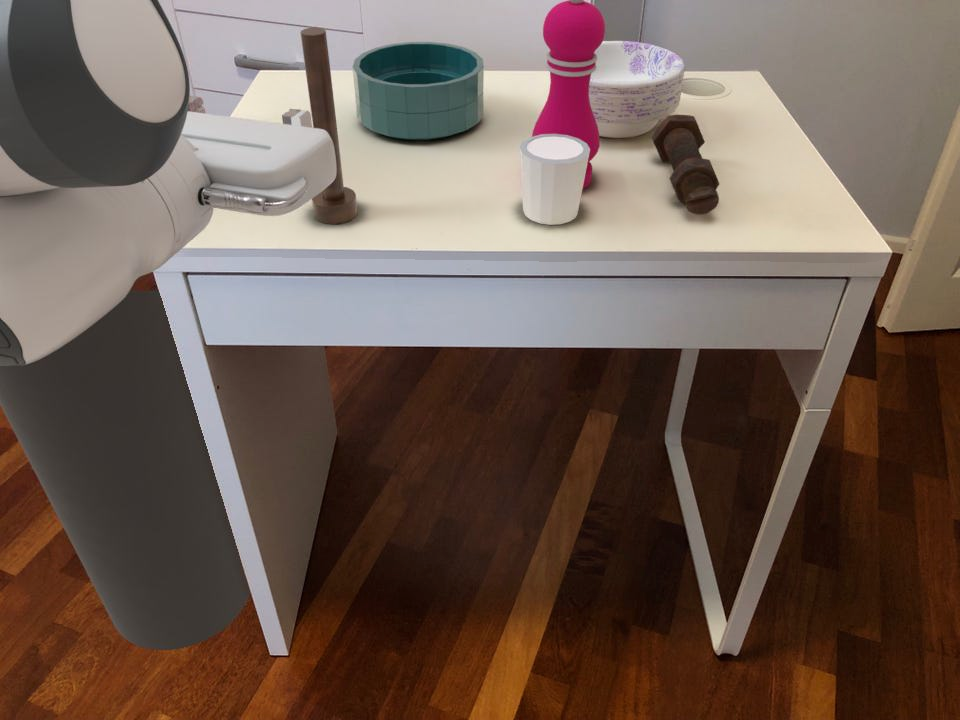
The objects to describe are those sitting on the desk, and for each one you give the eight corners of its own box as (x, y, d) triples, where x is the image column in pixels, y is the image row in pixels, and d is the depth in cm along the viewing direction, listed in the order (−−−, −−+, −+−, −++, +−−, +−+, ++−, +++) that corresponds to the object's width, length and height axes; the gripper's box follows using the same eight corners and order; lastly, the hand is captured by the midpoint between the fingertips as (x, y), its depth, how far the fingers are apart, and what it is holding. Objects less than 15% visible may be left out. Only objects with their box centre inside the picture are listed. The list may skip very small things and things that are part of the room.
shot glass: (507, 201, 83) (509, 137, 79) (567, 191, 85) (572, 128, 81) (532, 232, 78) (535, 166, 74) (595, 221, 80) (602, 156, 76)
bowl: (352, 145, 94) (346, 87, 89) (364, 95, 106) (359, 41, 101) (484, 144, 94) (485, 86, 90) (481, 95, 106) (481, 41, 102)
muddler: (311, 224, 79) (283, 39, 68) (317, 203, 83) (291, 23, 71) (355, 224, 79) (335, 39, 68) (359, 202, 83) (340, 23, 71)
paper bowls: (526, 122, 99) (529, 58, 94) (604, 91, 107) (610, 30, 102) (623, 161, 91) (632, 93, 86) (699, 124, 99) (711, 60, 94)
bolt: (689, 235, 81) (664, 165, 93) (737, 214, 80) (706, 146, 91) (668, 191, 78) (646, 124, 89) (718, 168, 76) (689, 103, 88)
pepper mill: (592, 165, 90) (611, -26, 77) (598, 195, 84) (620, -5, 72) (528, 164, 90) (537, -27, 77) (530, 194, 84) (540, -6, 72)
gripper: (274, 166, 48) (367, 86, 58) (-3, 125, 52) (128, 58, 63) (290, 256, 52) (374, 166, 62) (31, 211, 56) (149, 134, 67)
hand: (248, 111), depth 62 cm, fingers open, 8 cm apart
